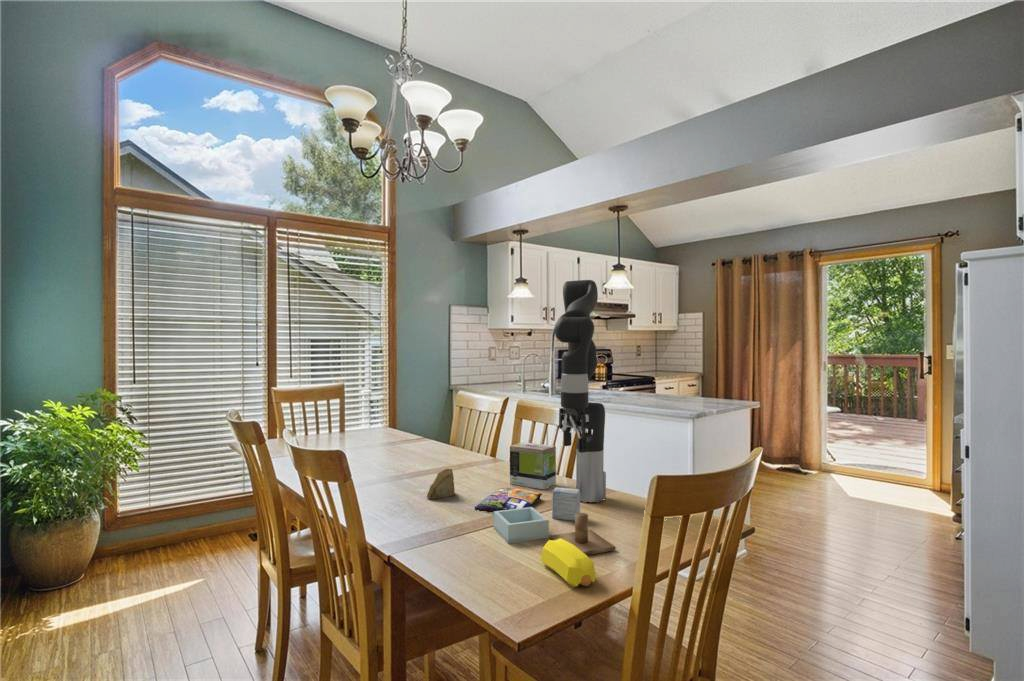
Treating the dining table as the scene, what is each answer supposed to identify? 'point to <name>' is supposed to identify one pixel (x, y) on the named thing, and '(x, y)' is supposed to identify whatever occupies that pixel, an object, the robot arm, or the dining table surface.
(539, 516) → the dish
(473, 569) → the dining table surface
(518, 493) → the food package
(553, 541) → the yellow faceted long part
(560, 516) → the medicine box
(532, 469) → the tea box
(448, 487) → the rock
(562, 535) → the lid
